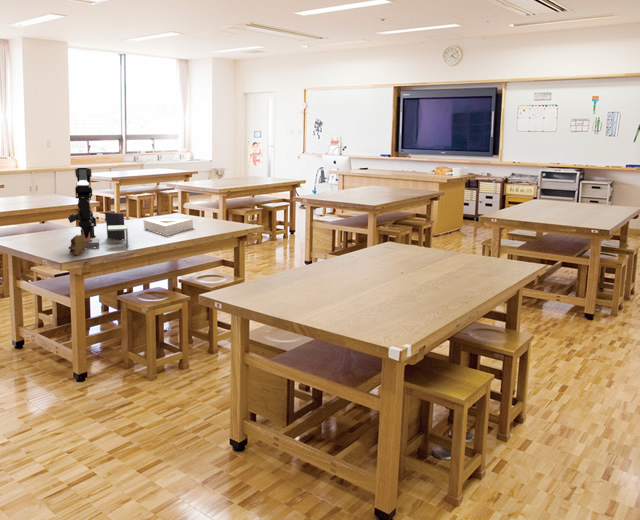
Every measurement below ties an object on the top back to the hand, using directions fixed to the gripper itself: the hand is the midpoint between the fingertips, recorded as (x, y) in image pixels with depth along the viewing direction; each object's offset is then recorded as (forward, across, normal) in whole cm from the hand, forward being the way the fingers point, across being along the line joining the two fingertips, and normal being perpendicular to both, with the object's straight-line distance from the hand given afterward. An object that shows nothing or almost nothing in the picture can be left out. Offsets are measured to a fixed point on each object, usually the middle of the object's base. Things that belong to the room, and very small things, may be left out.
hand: (86, 237), depth 335 cm
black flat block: (+5, -19, +15) cm, 25 cm away
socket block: (+5, 0, 0) cm, 5 cm away
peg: (+4, 0, 0) cm, 4 cm away
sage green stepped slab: (+5, 0, +16) cm, 17 cm away
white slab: (+6, -40, +50) cm, 64 cm away
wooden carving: (+5, +21, -4) cm, 22 cm away
